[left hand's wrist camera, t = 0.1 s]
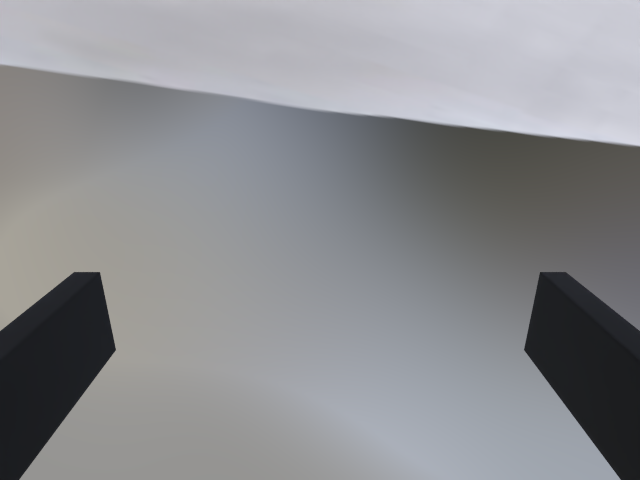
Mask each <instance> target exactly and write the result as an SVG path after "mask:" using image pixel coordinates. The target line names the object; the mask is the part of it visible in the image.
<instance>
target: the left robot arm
mask: <svg viewBox="0 0 640 480" xmlns="http://www.w3.org/2000/svg"><path fill="white" fill-rule="evenodd" d="M115 350H116V348H115V344H114V339H113V334H112V329H111V324H110V319H109V314H108V309H107V305H106V300H105V295H104V290H103V285H102V280H101V276H100V272H74V273H73V274H71V275H70V276H69V277H68V278H66V279H65V280H64V281H63V282H61V283H60V284H59V285H58V286H56V287H55V288H54V289H53V290H51V291H50V292H49V293H48V294H46V295H45V296H44V297H42V298H41V299H40V300H39V301H37V302H36V303H35V304H34V305H32V306H31V307H30V308H29V309H27V310H26V311H25V312H24V313H22V314H21V315H20V316H19V317H17V318H16V319H15V320H14V321H12V322H11V323H10V324H9V325H7V326H6V327H5V328H4V329H2V330H1V331H0V480H19V479H20V478H21V476H22V475H23V474H24V472H25V471H26V470H27V468H28V467H29V466H30V464H31V463H32V462H33V460H34V459H35V458H36V456H37V455H38V454H39V452H40V451H41V450H42V448H43V447H44V446H45V444H46V443H47V442H48V440H49V439H50V438H51V436H52V435H53V433H54V432H55V431H56V429H57V428H58V427H59V425H60V424H61V423H62V421H63V420H64V419H65V417H66V416H67V415H68V413H69V412H70V411H71V409H72V408H73V407H74V405H75V404H76V403H77V401H78V400H79V399H80V397H81V396H82V395H83V393H84V392H85V391H86V389H87V388H88V387H89V385H90V384H91V382H92V381H93V380H94V378H95V377H96V376H97V374H98V373H99V372H100V370H101V369H102V368H103V366H104V365H105V364H106V362H107V361H108V360H109V358H110V357H111V356H112V354H113V353H114V352H115ZM524 350H525V352H526V353H527V354H528V356H529V357H530V358H531V360H532V361H533V362H534V364H535V365H536V366H537V368H538V369H539V370H540V372H541V373H542V375H543V376H544V377H545V379H546V380H547V381H548V382H549V384H550V385H551V387H552V388H553V389H554V391H555V392H556V393H557V395H558V396H559V397H560V399H561V400H562V401H563V403H564V404H565V405H566V407H567V408H568V409H569V411H570V412H571V413H572V415H573V416H574V417H575V419H576V420H577V421H578V423H579V424H580V425H581V427H582V428H583V429H584V431H585V432H586V434H587V435H588V436H589V438H590V439H591V440H592V442H593V443H594V444H595V446H596V447H597V448H598V450H599V451H600V452H601V454H602V455H603V456H604V458H605V459H606V460H607V462H608V463H609V464H610V466H611V467H612V468H613V470H614V471H615V472H616V474H617V475H618V476H619V478H620V479H621V480H640V331H639V330H638V329H636V328H635V327H634V326H633V325H631V324H630V323H629V322H628V321H626V320H625V319H624V318H623V317H621V316H620V315H619V314H618V313H616V312H615V311H614V310H613V309H611V308H610V307H609V306H608V305H606V304H605V303H604V302H603V301H601V300H600V299H599V298H598V297H596V296H595V295H594V294H593V293H591V292H590V291H589V290H587V289H586V288H585V287H584V286H582V285H581V284H580V283H579V282H577V281H576V280H575V279H574V278H572V277H571V276H570V275H569V274H567V273H566V272H540V275H539V280H538V285H537V290H536V295H535V300H534V305H533V310H532V314H531V319H530V324H529V329H528V334H527V339H526V344H525V348H524Z"/></svg>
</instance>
